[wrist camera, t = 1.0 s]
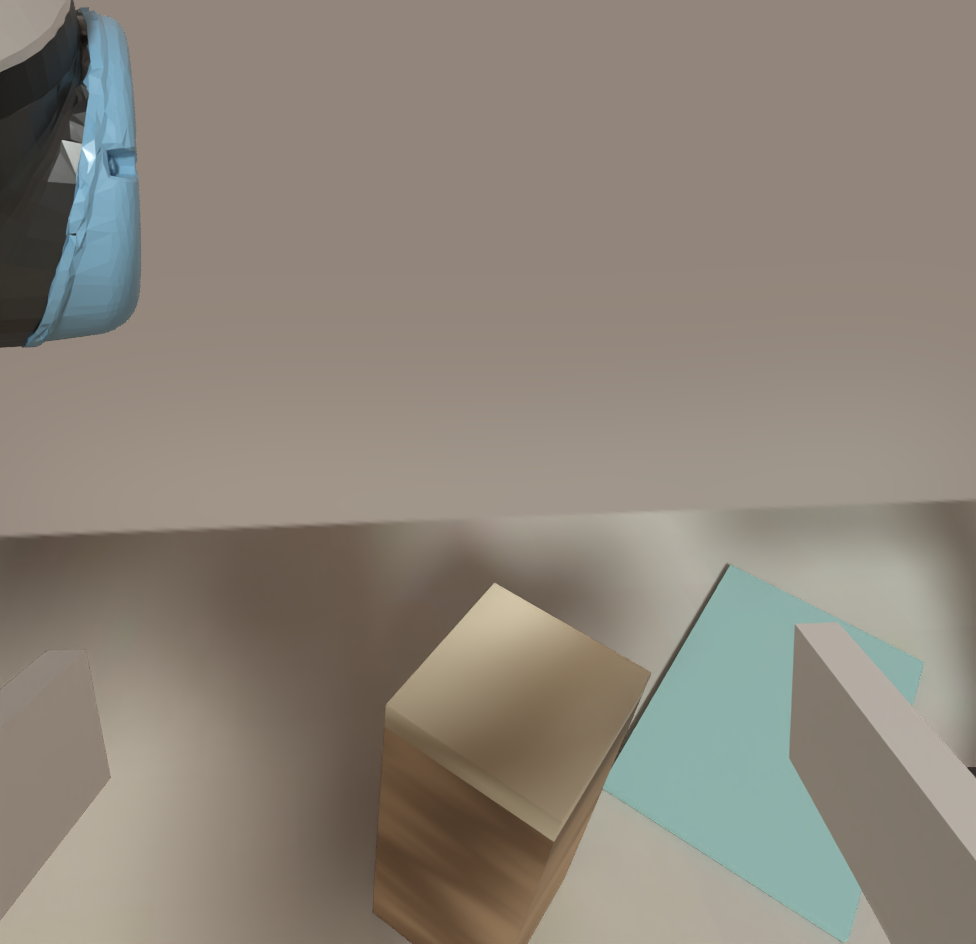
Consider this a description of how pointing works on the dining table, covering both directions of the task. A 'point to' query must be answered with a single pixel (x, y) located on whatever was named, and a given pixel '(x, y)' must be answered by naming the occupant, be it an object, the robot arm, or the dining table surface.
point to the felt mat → (746, 750)
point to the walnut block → (495, 772)
